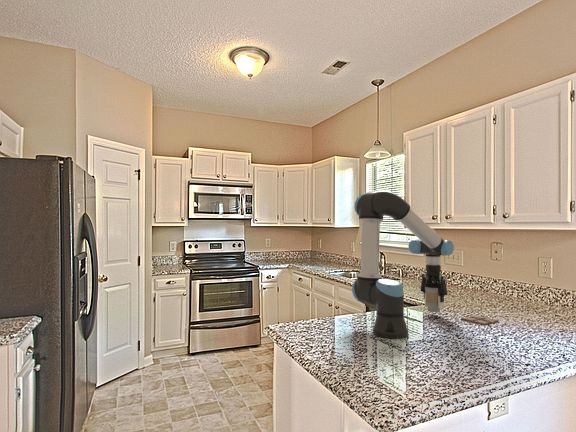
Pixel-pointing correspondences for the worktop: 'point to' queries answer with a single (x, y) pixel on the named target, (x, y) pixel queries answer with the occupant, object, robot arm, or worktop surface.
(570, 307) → the worktop surface
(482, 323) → the plate
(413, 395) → the worktop surface
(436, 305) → the coffee cup
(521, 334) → the worktop surface
